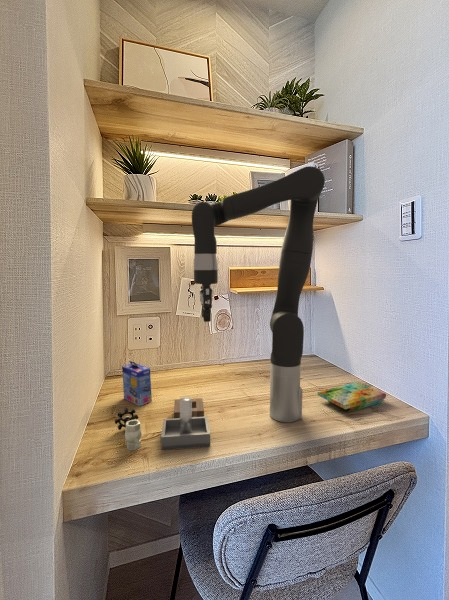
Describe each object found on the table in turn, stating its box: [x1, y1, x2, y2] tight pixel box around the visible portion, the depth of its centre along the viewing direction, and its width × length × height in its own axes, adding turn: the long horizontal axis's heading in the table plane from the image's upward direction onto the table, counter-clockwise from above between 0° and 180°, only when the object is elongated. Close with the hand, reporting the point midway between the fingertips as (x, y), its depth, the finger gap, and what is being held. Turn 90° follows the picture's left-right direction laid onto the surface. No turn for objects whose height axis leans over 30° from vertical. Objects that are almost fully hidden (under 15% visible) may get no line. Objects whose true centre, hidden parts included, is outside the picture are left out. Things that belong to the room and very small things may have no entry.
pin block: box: [173, 397, 205, 419], centre depth 96 cm, size 9×9×4 cm
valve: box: [113, 407, 142, 451], centre depth 84 cm, size 7×7×12 cm
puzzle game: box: [317, 382, 387, 413], centre depth 106 cm, size 12×5×20 cm
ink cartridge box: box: [121, 360, 153, 407], centre depth 108 cm, size 10×6×14 cm, turn 51°
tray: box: [160, 415, 211, 451], centre depth 84 cm, size 13×10×4 cm
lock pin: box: [180, 396, 193, 434], centre depth 84 cm, size 3×3×10 cm
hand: (206, 319), depth 99 cm, fingers open, 8 cm apart
